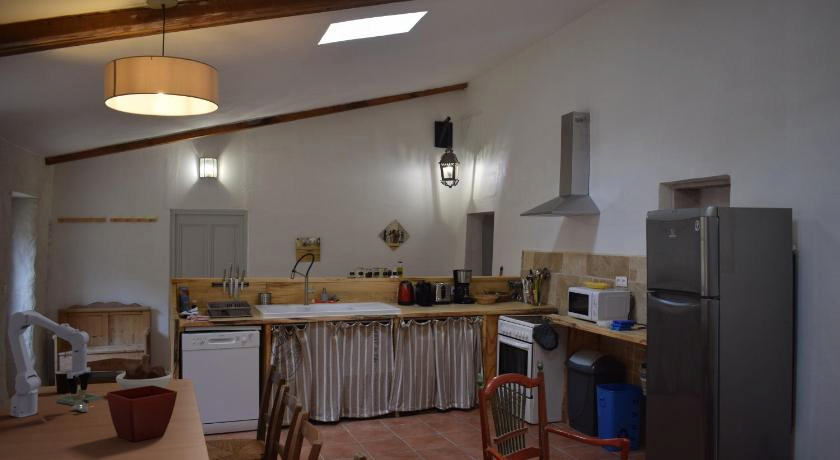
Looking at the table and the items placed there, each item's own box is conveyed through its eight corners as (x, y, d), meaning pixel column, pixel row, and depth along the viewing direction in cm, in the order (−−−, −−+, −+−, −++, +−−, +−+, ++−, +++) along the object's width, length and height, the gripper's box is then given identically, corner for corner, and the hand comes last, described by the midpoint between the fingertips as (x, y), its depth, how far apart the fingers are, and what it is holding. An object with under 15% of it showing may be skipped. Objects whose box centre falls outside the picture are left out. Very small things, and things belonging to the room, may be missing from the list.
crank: (71, 409, 289) (72, 397, 289) (80, 408, 292) (80, 395, 292) (83, 413, 282) (83, 401, 283) (92, 412, 285) (92, 399, 285)
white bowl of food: (115, 391, 329) (116, 360, 330) (169, 387, 340) (169, 357, 340) (115, 402, 307) (116, 369, 307) (173, 397, 317) (173, 366, 318)
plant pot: (152, 426, 268) (152, 384, 269) (177, 435, 256) (178, 391, 257) (104, 436, 254) (105, 392, 254) (129, 446, 241) (130, 400, 242)
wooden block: (75, 402, 303) (75, 389, 303) (73, 401, 306) (73, 388, 306) (85, 401, 306) (85, 388, 306) (82, 399, 309) (82, 386, 309)
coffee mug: (68, 394, 321) (68, 373, 321) (50, 394, 321) (51, 373, 322) (81, 389, 333) (81, 369, 333) (64, 389, 333) (64, 369, 333)
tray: (74, 407, 297) (75, 401, 297) (56, 403, 303) (56, 398, 303) (100, 401, 309) (100, 395, 309) (82, 397, 315) (82, 392, 315)
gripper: (78, 363, 278) (78, 396, 278) (97, 357, 293) (96, 388, 293) (62, 363, 279) (61, 395, 278) (81, 357, 293) (81, 388, 293)
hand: (78, 392), depth 286 cm, fingers open, 7 cm apart
